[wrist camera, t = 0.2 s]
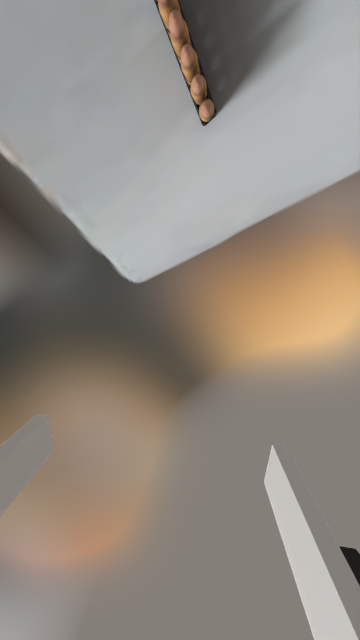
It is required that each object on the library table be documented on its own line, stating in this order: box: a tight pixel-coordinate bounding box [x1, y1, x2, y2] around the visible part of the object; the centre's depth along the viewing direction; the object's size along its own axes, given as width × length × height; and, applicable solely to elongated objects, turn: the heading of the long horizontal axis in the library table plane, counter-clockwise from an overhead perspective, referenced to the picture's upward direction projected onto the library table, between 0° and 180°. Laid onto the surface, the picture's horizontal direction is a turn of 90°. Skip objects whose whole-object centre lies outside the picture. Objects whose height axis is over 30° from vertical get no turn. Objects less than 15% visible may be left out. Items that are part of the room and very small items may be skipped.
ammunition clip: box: [154, 0, 216, 126], centre depth 18 cm, size 11×2×12 cm, turn 33°
